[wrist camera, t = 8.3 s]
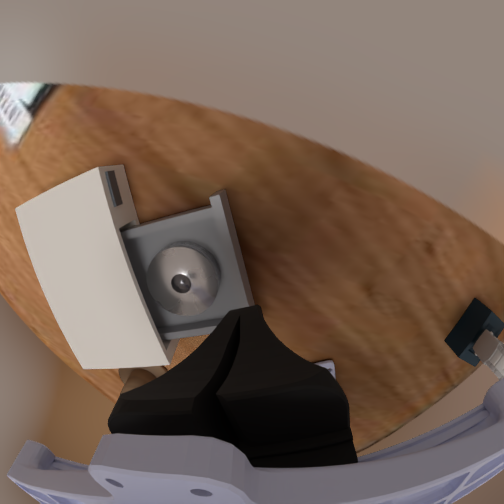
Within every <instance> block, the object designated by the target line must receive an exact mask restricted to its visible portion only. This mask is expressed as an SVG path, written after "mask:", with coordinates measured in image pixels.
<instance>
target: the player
mask: <svg viewBox="0 0 504 504" xmlns="http://www.w3.org/2000/svg"><path fill="white" fill-rule="evenodd" d="M15 210H16V213H17V217H18V221H19V224H20V228H21V231H22V235H23V238H24V241H25V244H26V247H27V250H28V253H29V256H30V259H31V262H32V264H33V267H34V270H35V272H36V275H37V277H38V280H39V282H40V285H41V287H42V290H43V292H44V294H45V297H46V299H47V301H48V303H49V306H50V308H51V310H52V312H53V314H54V316H55V318H56V320H57V322H58V324H59V326H60V328H61V330H62V332H63V334H64V336H65V338H66V340H67V342H68V343H69V345H70V347H71V349H72V351H73V352H74V354H75V356H76V358H77V359H78V361H79V363H80V364H81V366H82V368H83V369H111V368H133V367H149V366H162V365H170V363H171V360H172V358H173V355H174V353H175V350H176V347H177V345H178V342H179V340H180V338H177V339H170V340H161V338H160V335H159V333H158V331H157V329H156V326H155V324H154V322H153V319H152V317H151V315H150V312H149V310H148V307H147V305H146V303H145V300H144V298H143V295H142V293H141V290H140V287H139V285H138V282H137V279H136V277H135V274H134V271H133V269H132V266H131V263H130V260H129V257H128V254H127V252H126V249H125V246H124V243H123V240H122V237H121V233H120V230H122V229H125V228H128V227H132V226H135V225H139V224H140V223H139V220H138V217H137V213H136V210H135V206H134V203H133V199H132V196H131V192H130V188H129V184H128V181H127V177H126V173H125V169H124V165H112V166H102V167H97V168H94V169H92V170H90V171H88V172H85V173H83V174H81V175H79V176H77V177H74V178H72V179H70V180H68V181H66V182H64V183H62V184H60V185H58V186H56V187H54V188H52V189H50V190H48V191H46V192H44V193H42V194H40V195H38V196H37V197H35V198H33V199H31V200H29V201H27V202H26V203H24V204H22V205H20V206H19V207H17V208H15Z"/></svg>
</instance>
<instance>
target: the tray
mask: <svg viewBox="0 0 504 504" xmlns="http://www.w3.org/2000/svg"><path fill="white" fill-rule="evenodd" d="M209 199H210V202H211V205H209V206H205V207H201V208H197V209H193V210H189V211H185V212H182V213H178V214H174V215H171V216H167V217H163V218H160V219H156V220H152V221H149V222H145V223H142V224H139V225H135V226H132V227H128V228H125V229H122V230H120V233H121V237H122V240H123V243H124V246H125V249H126V252H127V254H128V257H129V260H130V263H131V266H132V269H133V271H134V274H135V277H136V279H137V282H138V285H139V287H140V290H141V293H142V295H143V298H144V300H145V303H146V305H147V307H148V310H149V312H150V315H151V317H152V319H153V322H154V324H155V326H156V329H157V331H158V333H159V335H160V338H161V340H170V339H177V338H185V337H192V336H199V335H205V334H211V333H212V332H213V330H214V329H215V328H216V327H217V325H218V324H219V323H220V322H221V320H222V319H223V318H224V317H225V315H226V314H227V313H228V312H229V311H230V310H234V309H239V308H244V307H249V306H253V305H255V303H254V299H253V295H252V292H251V288H250V284H249V280H248V276H247V272H246V268H245V265H244V261H243V257H242V253H241V249H240V245H239V241H238V237H237V233H236V229H235V225H234V222H233V218H232V214H231V210H230V206H229V202H228V198H227V194H226V190H225V189H224V190H220V191H216V192H215V193H214V194H213V195H211V196H210V197H209ZM175 242H191V243H195V244H197V245H200V246H201V247H203V248H205V249H206V250H207V251H208V252H210V253H211V255H212V256H213V257H214V258H215V260H216V262H217V264H218V266H219V269H220V275H221V280H220V286H219V289H218V293H217V296H216V299H215V300H214V302H213V304H212V305H211V306H210V307H209V308H208V309H207V310H205V311H204V312H202V313H199V314H197V315H192V316H182V315H177V314H173V313H171V312H169V311H167V310H165V309H164V308H162V307H161V306H160V305H159V304H158V303H157V302H156V301H155V300H154V299H153V297H152V295H151V294H150V291H149V289H148V286H147V270H148V267H149V265H150V263H151V261H152V260H153V259H154V257H155V256H156V255H157V254H158V253H159V252H160V251H161V250H162V249H163V248H165V247H166V246H168V245H170V244H172V243H175Z"/></svg>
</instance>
